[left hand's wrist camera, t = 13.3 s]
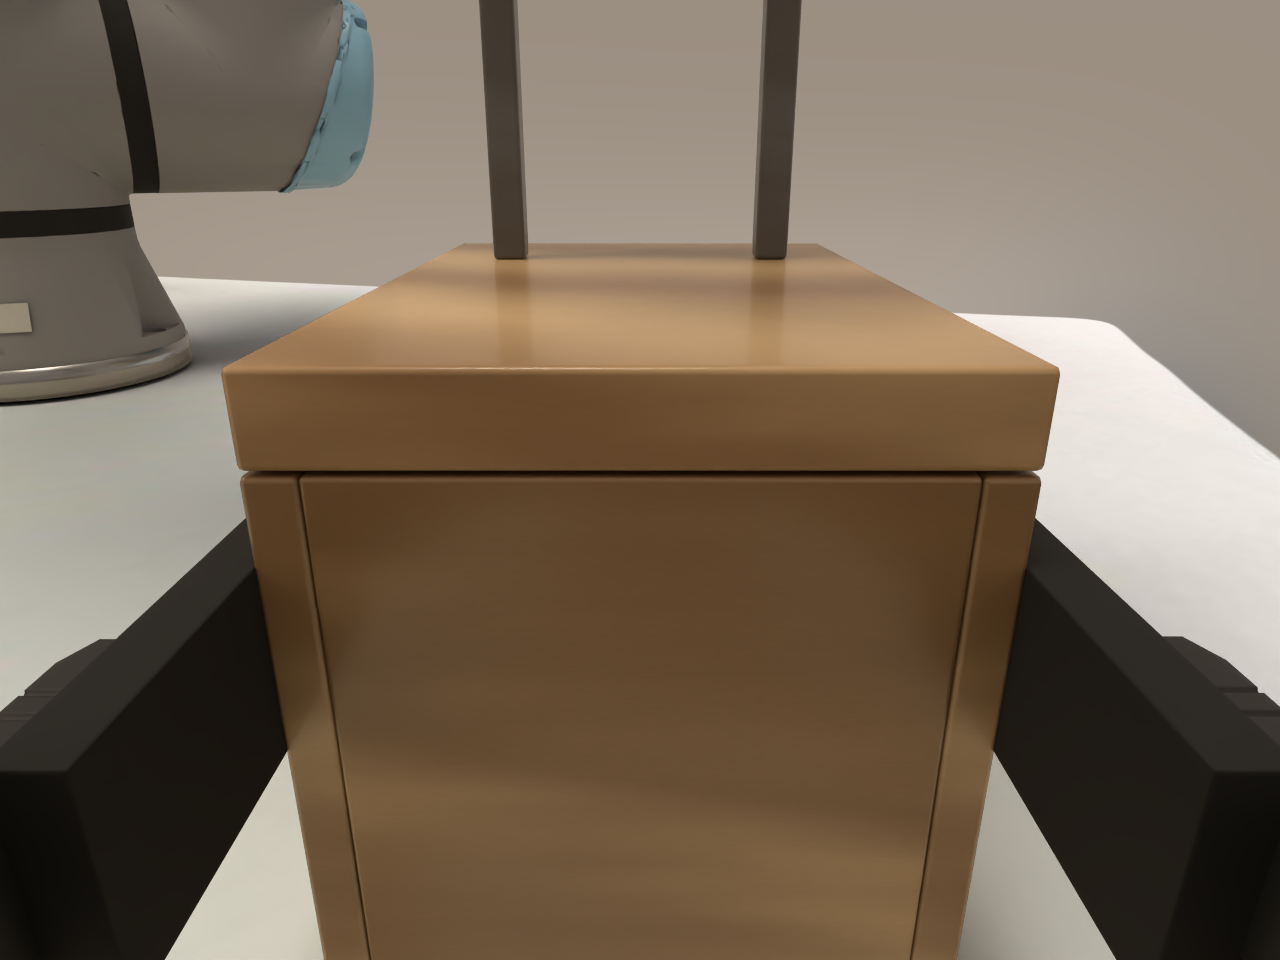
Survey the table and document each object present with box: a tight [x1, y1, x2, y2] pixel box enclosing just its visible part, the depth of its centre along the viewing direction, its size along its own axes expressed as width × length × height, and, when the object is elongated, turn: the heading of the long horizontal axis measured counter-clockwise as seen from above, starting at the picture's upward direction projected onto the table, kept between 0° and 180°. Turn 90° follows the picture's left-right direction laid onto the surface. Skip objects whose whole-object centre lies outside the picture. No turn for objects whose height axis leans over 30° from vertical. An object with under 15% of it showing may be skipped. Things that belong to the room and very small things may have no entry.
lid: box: [222, 0, 1060, 471], centre depth 15 cm, size 14×9×10 cm
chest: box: [240, 471, 1041, 960], centre depth 18 cm, size 13×9×10 cm
